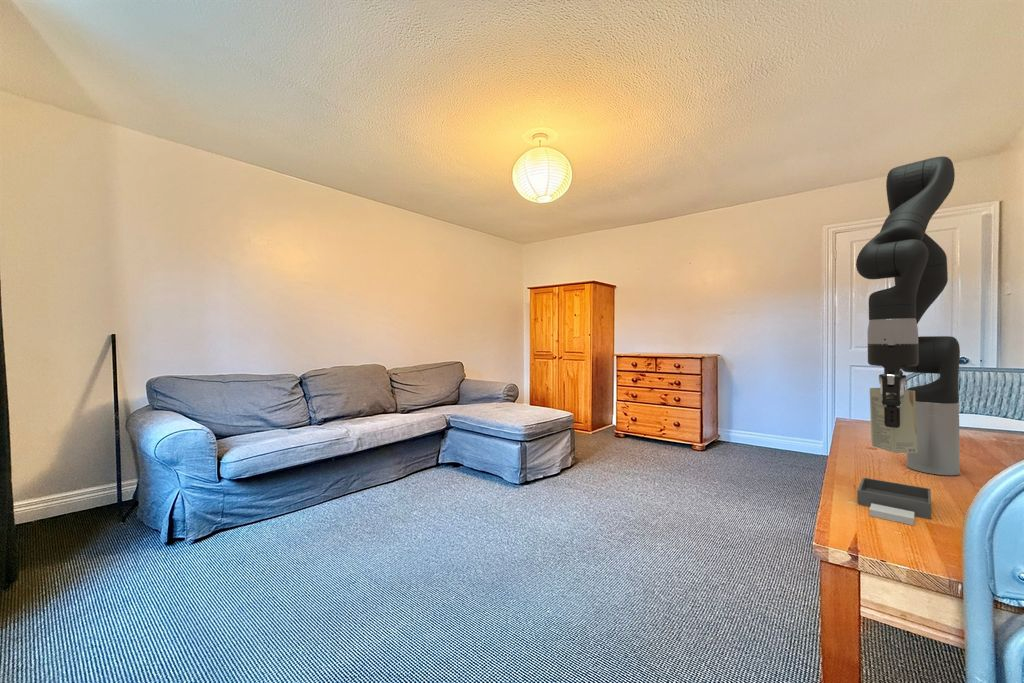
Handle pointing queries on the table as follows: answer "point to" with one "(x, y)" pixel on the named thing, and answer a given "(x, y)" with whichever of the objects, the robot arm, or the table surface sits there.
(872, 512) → the grey open tray
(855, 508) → the table surface
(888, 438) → the skincare box
